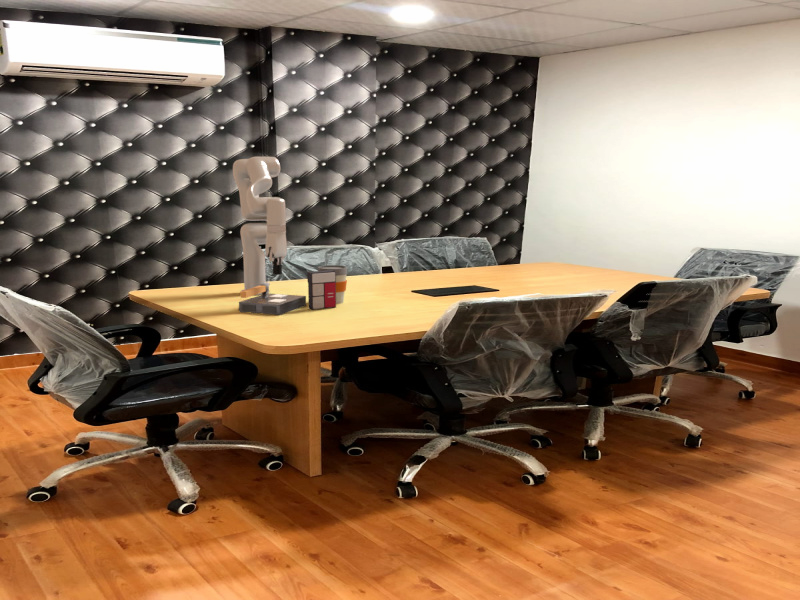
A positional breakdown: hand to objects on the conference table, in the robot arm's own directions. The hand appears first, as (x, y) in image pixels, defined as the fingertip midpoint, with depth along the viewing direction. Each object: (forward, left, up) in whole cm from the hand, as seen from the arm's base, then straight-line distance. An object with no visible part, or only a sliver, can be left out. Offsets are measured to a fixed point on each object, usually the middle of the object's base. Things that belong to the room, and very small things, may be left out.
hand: (277, 274), depth 300 cm
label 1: (0, 0, -9) cm, 9 cm away
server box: (+6, +1, -13) cm, 15 cm away
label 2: (+10, +5, -9) cm, 15 cm away
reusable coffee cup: (-16, +17, -13) cm, 27 cm away
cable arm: (+7, -6, -7) cm, 12 cm away
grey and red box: (-2, +19, -13) cm, 23 cm away
